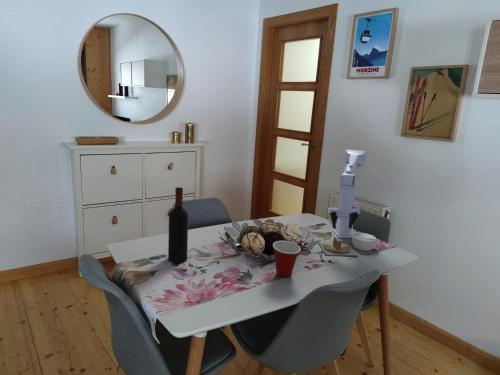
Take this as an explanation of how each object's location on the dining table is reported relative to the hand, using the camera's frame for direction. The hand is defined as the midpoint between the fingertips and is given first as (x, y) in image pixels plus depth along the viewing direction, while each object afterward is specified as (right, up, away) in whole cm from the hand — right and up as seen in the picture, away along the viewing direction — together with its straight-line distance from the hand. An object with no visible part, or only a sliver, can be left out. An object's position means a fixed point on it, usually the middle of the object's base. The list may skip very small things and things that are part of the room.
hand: (341, 228), depth 174 cm
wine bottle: (-72, -11, -20) cm, 75 cm away
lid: (-2, -10, +2) cm, 10 cm away
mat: (-2, -10, +1) cm, 10 cm away
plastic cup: (-29, -15, -27) cm, 42 cm away
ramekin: (+12, -10, +7) cm, 17 cm away
